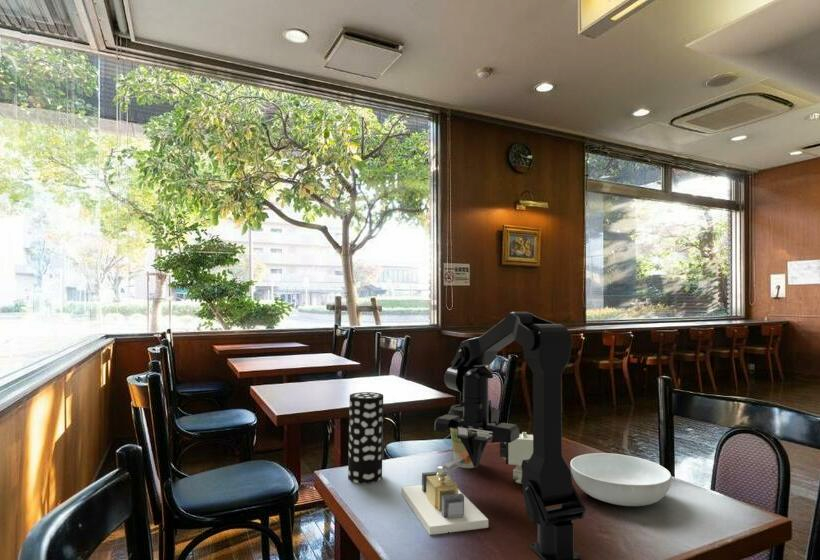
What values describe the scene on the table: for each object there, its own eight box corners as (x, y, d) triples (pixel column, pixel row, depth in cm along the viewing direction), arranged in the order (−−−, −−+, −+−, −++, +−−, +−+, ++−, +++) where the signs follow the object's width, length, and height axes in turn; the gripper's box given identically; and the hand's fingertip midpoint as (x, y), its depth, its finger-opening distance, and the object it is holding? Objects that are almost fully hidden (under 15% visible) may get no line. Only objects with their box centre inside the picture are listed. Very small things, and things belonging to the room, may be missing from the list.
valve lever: (443, 482, 101) (443, 468, 101) (434, 480, 103) (434, 466, 103) (476, 463, 113) (476, 451, 113) (467, 461, 114) (468, 449, 115)
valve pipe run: (467, 517, 96) (467, 494, 96) (444, 519, 94) (444, 497, 95) (439, 486, 111) (439, 467, 111) (419, 488, 110) (419, 469, 110)
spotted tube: (341, 479, 119) (342, 396, 119) (360, 469, 126) (361, 391, 127) (370, 486, 115) (371, 400, 116) (388, 475, 122) (389, 394, 123)
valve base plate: (488, 527, 95) (488, 519, 95) (429, 535, 91) (429, 526, 91) (451, 488, 114) (451, 482, 114) (401, 493, 111) (401, 486, 111)
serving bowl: (569, 476, 123) (569, 448, 124) (661, 487, 117) (661, 458, 117) (570, 509, 103) (570, 476, 104) (681, 525, 97) (681, 490, 97)
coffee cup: (442, 459, 134) (442, 404, 135) (474, 457, 137) (475, 403, 138) (456, 472, 125) (456, 412, 126) (490, 468, 128) (491, 410, 128)
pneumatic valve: (549, 487, 115) (550, 436, 116) (499, 483, 118) (499, 433, 118) (548, 479, 121) (548, 430, 121) (500, 475, 123) (500, 427, 124)
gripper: (528, 395, 112) (528, 464, 111) (456, 387, 123) (456, 450, 122) (509, 403, 103) (509, 479, 102) (433, 394, 113) (433, 462, 113)
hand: (476, 466), depth 110 cm, fingers closed
